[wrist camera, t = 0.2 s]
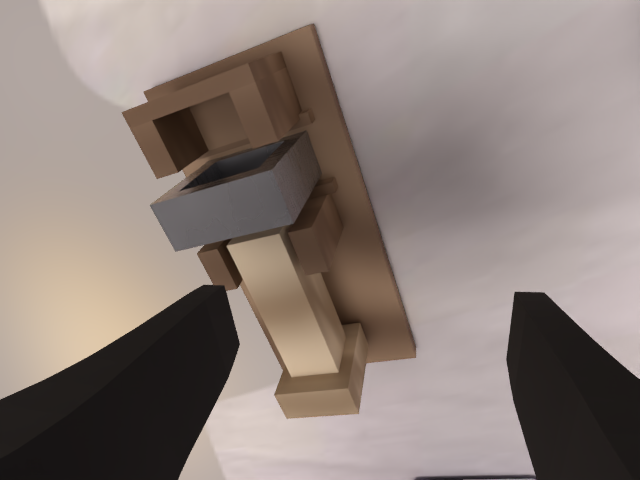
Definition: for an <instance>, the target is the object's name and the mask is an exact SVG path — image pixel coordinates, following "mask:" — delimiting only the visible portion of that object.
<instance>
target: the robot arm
mask: <svg viewBox="0 0 640 480" xmlns="http://www.w3.org/2000/svg"><path fill="white" fill-rule="evenodd" d="M239 345H240V343H239V339H238V335H237V331H236V328H235V324H234V320H233V316H232V313H231V309H230V305H229V301H228V297H227V293H226V290H225V286H224V285H203V286H201V287H199V288H197V289H196V290H194V291H192V292H190V293H189V294H187V295H186V296H184V297H183V298H181V299H179V300H178V301H176V302H175V303H173V304H172V305H170V306H169V307H167V308H166V309H164V310H163V311H161V312H160V313H158V314H157V315H155V316H154V317H152V318H150V319H149V320H147V321H146V322H145V323H143V324H141V325H140V326H139V327H137V328H135V329H134V330H132V331H130V332H129V333H127V334H125V335H124V336H122V337H120V338H119V339H117V340H115V341H114V342H112V343H111V344H109V345H107V346H106V347H104V348H103V349H101V350H99V351H97V352H96V353H94V354H92V355H91V356H89V357H87V358H85V359H84V360H81V361H80V362H78V363H76V364H74V365H72V366H70V367H68V368H66V369H64V370H62V371H61V372H59V373H57V374H55V375H53V376H51V377H49V378H47V379H45V380H43V381H41V382H38V383H36V384H34V385H32V386H29V387H27V388H25V389H23V390H21V391H18V392H16V393H14V394H12V395H10V396H7V397H5V398H3V399H1V400H0V480H178V478H179V476H180V473H181V471H182V469H183V467H184V465H185V463H186V460H187V458H188V456H189V454H190V452H191V450H192V448H193V446H194V444H195V442H196V440H197V438H198V437H199V435H200V433H201V431H202V429H203V427H204V425H205V423H206V421H207V419H208V417H209V415H210V413H211V411H212V409H213V407H214V405H215V403H216V401H217V399H218V397H219V395H220V393H221V391H222V390H223V387H224V385H225V383H226V381H227V379H228V377H229V374H230V371H231V369H232V366H233V363H234V360H235V357H236V354H237V351H238V348H239ZM506 360H507V366H508V372H509V379H510V385H511V390H512V396H513V401H514V404H515V408H516V411H517V415H518V418H519V421H520V425H521V428H522V432H523V435H524V438H525V442H526V445H527V448H528V452H529V455H530V458H531V461H532V465H533V468H534V471H535V475H536V478H537V480H640V379H639V378H637V377H636V376H635V375H634V374H632V373H631V372H630V371H629V370H627V369H626V368H625V367H624V366H623V365H622V364H620V363H619V362H618V361H617V360H616V359H615V358H613V357H612V356H611V355H610V354H609V353H608V352H607V351H606V350H604V349H603V348H602V347H601V346H600V345H599V344H598V343H597V342H595V341H594V340H593V339H592V338H591V337H590V336H589V335H588V334H587V333H586V332H585V331H584V330H583V329H582V328H580V327H579V326H578V325H577V324H576V323H575V322H574V321H573V320H572V319H571V318H570V317H569V316H568V315H567V314H566V313H565V312H564V311H563V310H562V309H561V308H560V307H559V306H558V305H557V304H556V303H555V302H553V301H552V300H551V299H550V298H549V297H548V296H547V295H546V294H545V293H542V292H515V294H514V302H513V310H512V318H511V326H510V334H509V342H508V351H507V359H506ZM465 480H535V479H465Z"/></svg>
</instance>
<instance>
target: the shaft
mask: <svg viewBox="0 0 640 480" xmlns="http://www.w3.org/2000/svg"><path fill="white" fill-rule="evenodd" d="M292 225H293V224H290V225H286V226H282V227H277V228H273V229H269V230H265V231H261V232H256V233H252V234H248V235H244V236H239V237H235V238H232V240H231V241H230V242H229V243H228V245H227V248H228V250H229V252H230V254H231V256H232V258H233V260H234V262H235V264H236V266H237V268H238V270H239V272H240V274H241V276H242V278H243V280H244V282H245V284H246V286H247V288H248V290H249V292H250V294H251V296H252V298H253V300H254V302H255V304H256V306H257V309H258V311H259V313H260V315H261V317H262V319H263V321H264V323H265V325H266V327H267V329H268V331H269V333H270V335H271V337H272V339H273V341H274V343H275V345H276V347H277V349H278V351H279V353H280V355H281V357H282V359H283V361H284V363H285V367H284V370H283V373H282V375H281V378H280V381H279V383H278V386H277V389H276V392H275V394H274V395H275V397H276V399H277V401H278V403H279V405H280V407H281V409H282V411H283V412H284V414H285V416H286V418H287V419H289V418H303V417H318V416H333V415H348V414H359V409H360V402H361V395H362V388H363V381H364V374H365V367H366V360H367V353H368V346H369V345H368V343H367V340H366V337H365V335H364V332H363V329H362V327H361V324H360V323H353V324H346V325H341V322H340V320H339V317H338V315H337V312H336V310H335V307H334V305H333V302H332V300H331V297H330V295H329V292H328V290H327V287H326V285H325V282H324V280H323V277H322V275H321V273H317V274H312V275H307V276H306V275H305V273H304V270H303V268H302V266H301V263H300V261H299V258H298V256H297V254H296V251H295V249H294V246H293V244H292V242H291V239H290V237H289V234H288V232H289V230H290V228H291V226H292Z"/></svg>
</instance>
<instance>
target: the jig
mask: <svg viewBox="0 0 640 480" xmlns="http://www.w3.org/2000/svg"><path fill="white" fill-rule="evenodd" d="M144 94H145V96H146V98H147V100H148V102H147V103H145V104H142V105H139V106H137V107H134V108H132V109H129V110H127V111H124V112H122V114H123V116H124V118H125V120H126V122H127V124H128V125H129V127H130V129H131V131H132V133H133V135H134V136H135V139H136V140H137V142H138V144H139V146H140V148H141V150H142V152H143V154H144V155H145V157H146V159H147V161H148V163H149V165H150V167H151V169H152V170H153V172H154V174H155V176H156V178H157V179H158V178H162V177H164V176H168V175H171V174H174V173H178V172H179V171H181V170H183V172H184V174H185V176H186V177H188V176H189V175H190V174H192V173H193V172H194V171H196V170H197V169H198V168H200V167H201V166H202V165H204V164H205V163H206V162H208V161H210V160H213V159H216V158H219V157H223V156H226V155H229V154H232V153H235V152H239V151H242V150H245V149H248V148H251V147H252V149H254V148H258V147H261V146H264V145H267V144H270V143H274V142H277V141H279V140H280V139H281V138H283V137H286V136H290V135H293V134H296V133H299V132H302V131H305V130H307V132H308V135H309V138H310V141H311V143H312V146H313V149H314V152H315V155H316V158H317V160H318V163H319V166H320V169H321V172H322V174H321V176H320V178H319V180H318V181H317V183H316V185H315V187H314V189H313V190H312V192H311V194H310V196H309V197H308V199H307V201H306V203H305V205H304V206H303V208H302V210H301V212H300V213H299V215H298V217H297V219H296V220H295V222H294V224H293V225H292V226H291V228H290V230H289V232H288V234H289V237H290V239H291V242H292V244H293V246H294V249H295V251H296V254H297V256H298V258H299V261H300V263H301V266H302V268H303V270H304V273H305V275H306V276H307V275H312V274H317V273H321V275H322V277H323V280H324V282H325V285H326V287H327V290H328V292H329V295H330V297H331V300H332V302H333V305H334V307H335V310H336V312H337V315H338V317H339V320H340V322H341V325H346V324H353V323H360V324H361V327H362V329H363V332H364V335H365V337H366V340H367V343H368V345H369V346H368V353H367V360H366V363H372V362H381V361H390V360H399V359H408V358H416V346H415V343H414V339H413V336H412V333H411V330H410V327H409V324H408V320H407V317H406V314H405V311H404V308H403V304H402V301H401V298H400V295H399V292H398V289H397V285H396V282H395V279H394V276H393V273H392V270H391V266H390V263H389V260H388V257H387V254H386V251H385V247H384V244H383V241H382V238H381V235H380V232H379V228H378V225H377V222H376V219H375V216H374V213H373V209H372V206H371V203H370V200H369V197H368V194H367V190H366V187H365V184H364V181H363V178H362V175H361V171H360V168H359V165H358V162H357V159H356V156H355V152H354V149H353V146H352V143H351V140H350V137H349V133H348V130H347V127H346V124H345V121H344V118H343V114H342V111H341V108H340V105H339V102H338V99H337V95H336V92H335V89H334V86H333V83H332V80H331V76H330V73H329V70H328V67H327V64H326V61H325V57H324V54H323V51H322V48H321V45H320V42H319V38H318V35H317V32H316V29H315V26H314V24H311V25H308V26H305V27H303V28H300V29H298V30H295V31H293V32H290V33H288V34H285V35H283V36H280V37H278V38H275V39H273V40H270V41H268V42H266V43H263V44H261V45H258V46H256V47H253V48H251V49H248V50H246V51H243V52H241V53H238V54H236V55H233V56H231V57H228V58H226V59H223V60H221V61H218V62H216V63H213V64H211V65H209V66H206V67H204V68H201V69H199V70H196V71H194V72H191V73H189V74H186V75H184V76H181V77H179V78H176V79H174V80H171V81H169V82H166V83H164V84H161V85H159V86H156V87H154V88H152V89H149V90H147V91H144ZM231 240H232V238H231V239H227V240H222V241H218V242H214V243H210V244H206V245H204V246H203V247H202V248H201V250H200V251H199V252H198V253H197V255H198V257H199V258H200V260H201V262H202V264H203V266H204V268H205V270H206V272H207V274H208V275H209V277H210V279H211V281H212V283H213V285H224V286H225V290H226V291H228V290H233V289H237V288H238V287H239V285H240V286H241V288H242V289H243V291H244V294H245V296H246V298H247V300H248V302H249V304H250V305H251V308H252V310H253V312H254V314H255V316H256V318H257V319H258V321H259V324H260V325H261V327H262V329H263V331H264V333H265V335H266V337H267V339H268V341H269V343H270V345H271V347H272V349H273V351H274V353H275V355H276V357H277V359H278V361H279V363H280V365H281V367H282V369H283V370H284V367H285V363H284V361H283V359H282V357H281V355H280V353H279V351H278V349H277V347H276V345H275V343H274V341H273V339H272V337H271V335H270V333H269V331H268V329H267V327H266V325H265V323H264V321H263V319H262V317H261V315H260V313H259V311H258V309H257V306H256V304H255V302H254V300H253V298H252V296H251V294H250V292H249V290H248V288H247V286H246V284H245V282H244V280H243V278H242V276H241V274H240V272H239V270H238V268H237V266H236V264H235V262H234V260H233V258H232V256H231V254H230V252H229V250H228V248H227V245H228V243H229V242H230V241H231Z"/></svg>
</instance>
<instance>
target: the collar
mask: <svg viewBox="0 0 640 480" xmlns="http://www.w3.org/2000/svg"><path fill="white" fill-rule="evenodd" d="M321 174H322V172H321V169H320V166H319V163H318V160H317V158H316V155H315V152H314V149H313V146H312V143H311V141H310V138H309V135H308V132H307V130H305V131H302V132H299V133H296V134H293V135H290V136H286V137H283V138H281V139H280V140H279V141H277V142H274V143H270V144H267V145H264V146H261V147H258V148H254V149H252V147H251V148H248V149H245V150H242V151H239V152H235V153H232V154H229V155H226V156H223V157H219V158H216V159H213V160H210V161H208V162H206V163H205V164H204V165H202V166H201V167H200V168H198V169H197V170H196V171H194V172H193V173H192V174H190V175H189V176H188V177H186V178H185V179H184V180H182V181H181V182H180V183H178V184H177V185H176V186H174V187H173V188H172V189H171V190H169V191H168V192H167V193H165V194H164V195H163V196H161V197H160V198H159V199H157V200H156V201H155V202H153V203H152V204H151V205H150V206H151V208H152V210H153V212H154V214H155V216H156V217H157V219H158V221H159V223H160V225H161V226H162V228H163V230H164V232H165V234H166V235H167V237H168V239H169V241H170V243H171V244H172V246H173V248H174V250H175V251H180V250H184V249H189V248H193V247H197V246H201V245H206V244H210V243H214V242H218V241H222V240H227V239H231V238H235V237H239V236H244V235H248V234H252V233H256V232H261V231H265V230H269V229H273V228H277V227H282V226H286V225H290V224H294V222H295V220H296V219H297V217H298V215H299V213H300V212H301V210H302V208H303V206H304V205H305V203H306V201H307V199H308V197H309V196H310V194H311V192H312V190H313V189H314V187H315V185H316V183H317V181H318V180H319V178H320V176H321Z"/></svg>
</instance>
